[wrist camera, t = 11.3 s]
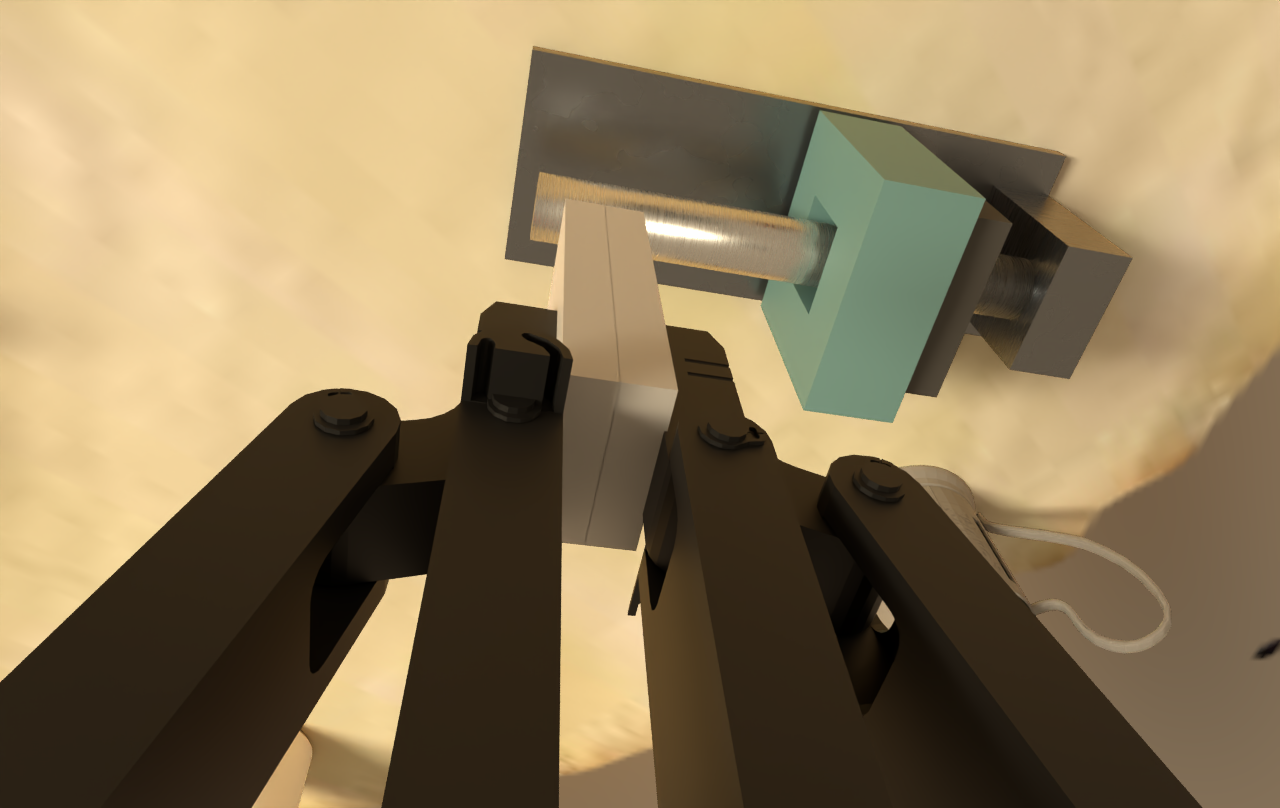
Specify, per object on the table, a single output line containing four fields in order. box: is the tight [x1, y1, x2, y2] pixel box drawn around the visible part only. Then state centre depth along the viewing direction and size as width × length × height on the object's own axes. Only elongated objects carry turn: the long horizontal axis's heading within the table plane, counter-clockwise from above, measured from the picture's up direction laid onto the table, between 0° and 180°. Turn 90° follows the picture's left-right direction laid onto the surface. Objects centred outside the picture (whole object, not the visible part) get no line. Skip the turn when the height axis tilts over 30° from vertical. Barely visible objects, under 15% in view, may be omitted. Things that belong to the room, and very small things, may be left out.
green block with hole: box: [761, 110, 986, 423], centre depth 39 cm, size 4×10×10 cm, turn 169°
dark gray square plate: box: [905, 200, 1013, 397], centre depth 40 cm, size 2×8×8 cm, turn 169°
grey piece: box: [505, 46, 1132, 379], centre depth 41 cm, size 26×10×9 cm, turn 79°
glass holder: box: [876, 465, 1172, 653], centre depth 49 cm, size 9×14×15 cm, turn 115°
